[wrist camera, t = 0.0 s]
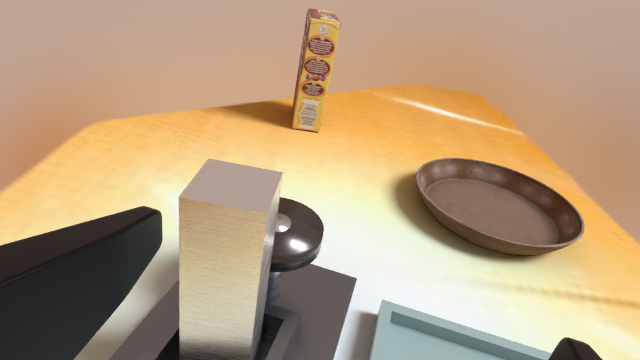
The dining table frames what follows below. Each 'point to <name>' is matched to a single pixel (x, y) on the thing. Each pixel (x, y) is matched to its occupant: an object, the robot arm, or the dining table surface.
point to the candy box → (314, 69)
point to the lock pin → (225, 259)
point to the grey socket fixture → (270, 300)
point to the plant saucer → (498, 207)
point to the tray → (438, 339)
